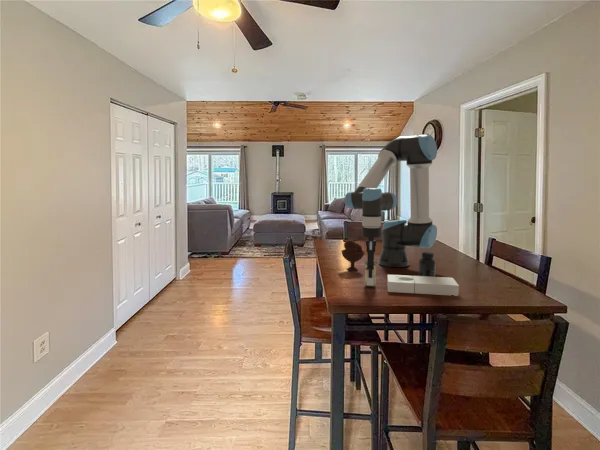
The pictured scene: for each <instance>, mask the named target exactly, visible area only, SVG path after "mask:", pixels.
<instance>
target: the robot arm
mask: <svg viewBox="0 0 600 450" xmlns="http://www.w3.org/2000/svg"><path fill="white" fill-rule="evenodd" d="M437 154H438V146H437V142H436V140H435V138H434V137H433V136H432V135H430V134H418V135H406V136H398V137H395V138H394V139H392V140H390V141H389V142H388V143H386V144H385V145H384V147H382V148H381V150H379V153H378V154H377V159H376V160H375V162H374V163H373V165H372V166H371V167H370V169H369V170H368V172H367V173H366V175H365V176H364V177H363V179H362V180H361V182H360V183H359V184H358V186H357V188H355V190H354V191H348V192H347V193H346V194H345V196H344V204H345V207H346V208H348V209H351V210H361V211H362V213H361V214H362V215H361V216H362V217H361V218H360V221H361V225H362V227H361V236H362V237H363V238H367V240H366V241H365V246H366V253H367V255H366V256H367V259H366V260H367V268H365V267H364V271H365V270H367V285H371V286H372V287H375V286H374V260H375V253H376V246H377V240H375V238H380V237H381V236H382V250H381V252H380V255H379V258H378V265H379V266H383V267H388V268H405V267H408V266H409V264H410V263H409V262H410V261H409V257H408V254H407V250H406V249H407V248H406V247H412V248H420V249H431V247H432V246H433V245H435V242H436V240H437V236H438V235H437V234H438V228H437V225H436V224H433V219H431V217H430V173H429V172H430V171H429V169H430V167H431V166H432V164H433V161H434V160H435V159H436V158H437ZM398 162H406V166H407V167H408V168H409V181H410V182H409V185H410V186H409V188H410V189H409V190H410V192H409V193H410V195H409V196H410V197H409V198H410V199H409V200H410V201H409V203H410V206H409V207H410V217H409V218H408V219H398V220H397V219H396V220H395V219H394V220H386V221H385V222H383V225H382V212H384V211H387V212H388V211H390V210H393V209H395V208H396V206H397V205H398V198H397V196H396V195H395V194H394V193H393V192H389V191H388V192H387V191H386V192H383V191H382V189H381V188H378V187H379V186H380V185H381V183H382V182H383V180H384V179H385V178H386V175H388V172H389V171H390V169H391V168H392V167H395V165H397V163H398ZM381 226H382V228H381Z"/></svg>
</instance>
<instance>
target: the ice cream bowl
mask: <svg viewBox="0 0 600 450" xmlns="http://www.w3.org/2000/svg"><path fill="white" fill-rule="evenodd" d="M343 248H344V249H341V250H340V251H341V255H342V257H343V258H344V259H345V260H346V261H348V262H349V263H350V266H349V267H348V268H347V269H346V271H347V270H349V271H348V272H352V271H355V272H358V271H359V269H358V268H357V267H356V266H355V263H356V262H358V261H360V260H362V258H363V257H364V256H365V251H364V250H363V247H362V246H361V244H360V243H358V242H356V241H355V240H354V239H347V240H346V241H345V242H344V243H343Z"/></svg>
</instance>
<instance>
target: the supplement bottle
mask: <svg viewBox="0 0 600 450" xmlns="http://www.w3.org/2000/svg"><path fill="white" fill-rule="evenodd" d="M434 255H435V254H434V253H433V252H427V251H425V252H422V253H421V258H420V259H419V261H418V276H428V277H436V266H437V265H436V263H437V262H436V260H435V259H434Z"/></svg>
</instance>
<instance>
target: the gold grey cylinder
mask: <svg viewBox="0 0 600 450" xmlns="http://www.w3.org/2000/svg"><path fill="white" fill-rule="evenodd" d="M377 263H378V262H377V260H375V259H374V286H371V285H367V270H365V268H367V259H365V260H364V286H366V287H371V288H372V287H376V286H377Z"/></svg>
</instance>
